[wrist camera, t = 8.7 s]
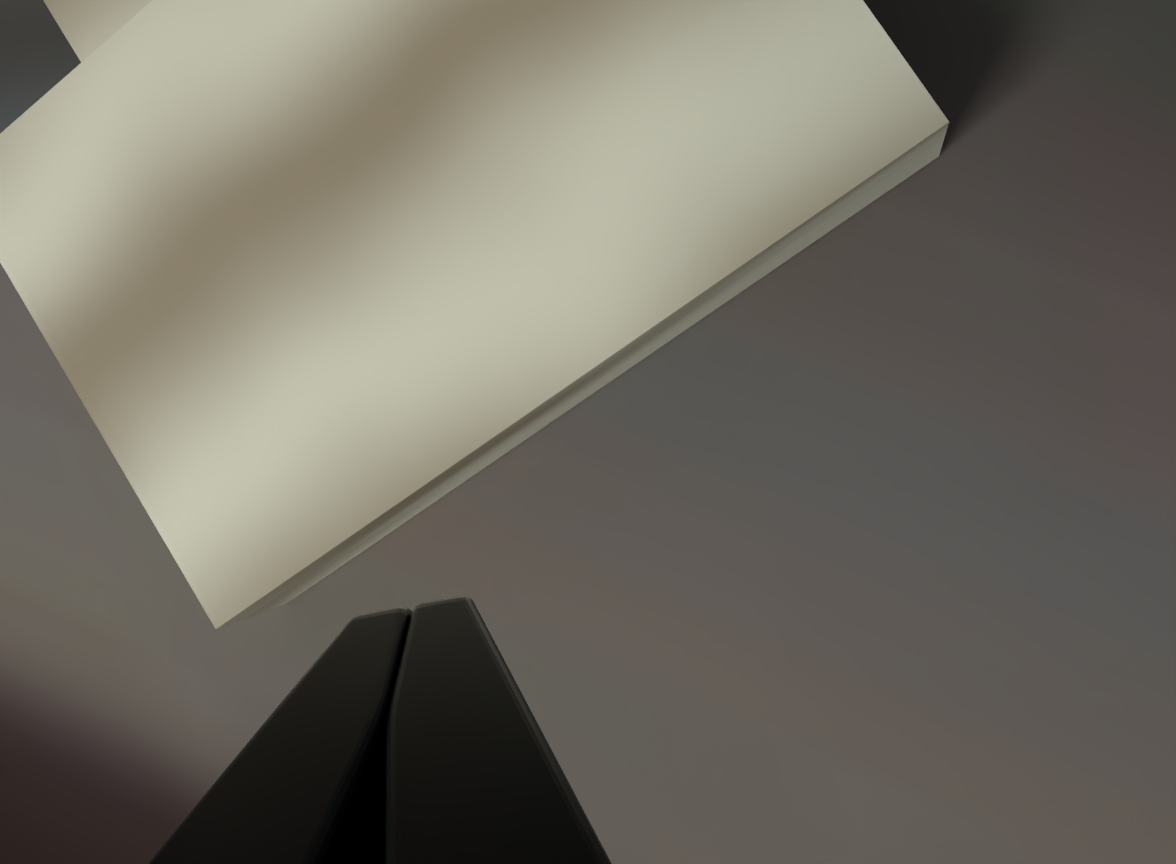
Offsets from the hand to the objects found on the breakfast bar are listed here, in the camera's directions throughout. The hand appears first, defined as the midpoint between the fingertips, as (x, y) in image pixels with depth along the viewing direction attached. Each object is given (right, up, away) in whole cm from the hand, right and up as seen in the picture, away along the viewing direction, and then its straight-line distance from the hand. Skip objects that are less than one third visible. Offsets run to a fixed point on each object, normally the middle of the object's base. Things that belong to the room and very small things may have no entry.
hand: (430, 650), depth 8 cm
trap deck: (-5, +11, +14) cm, 19 cm away
